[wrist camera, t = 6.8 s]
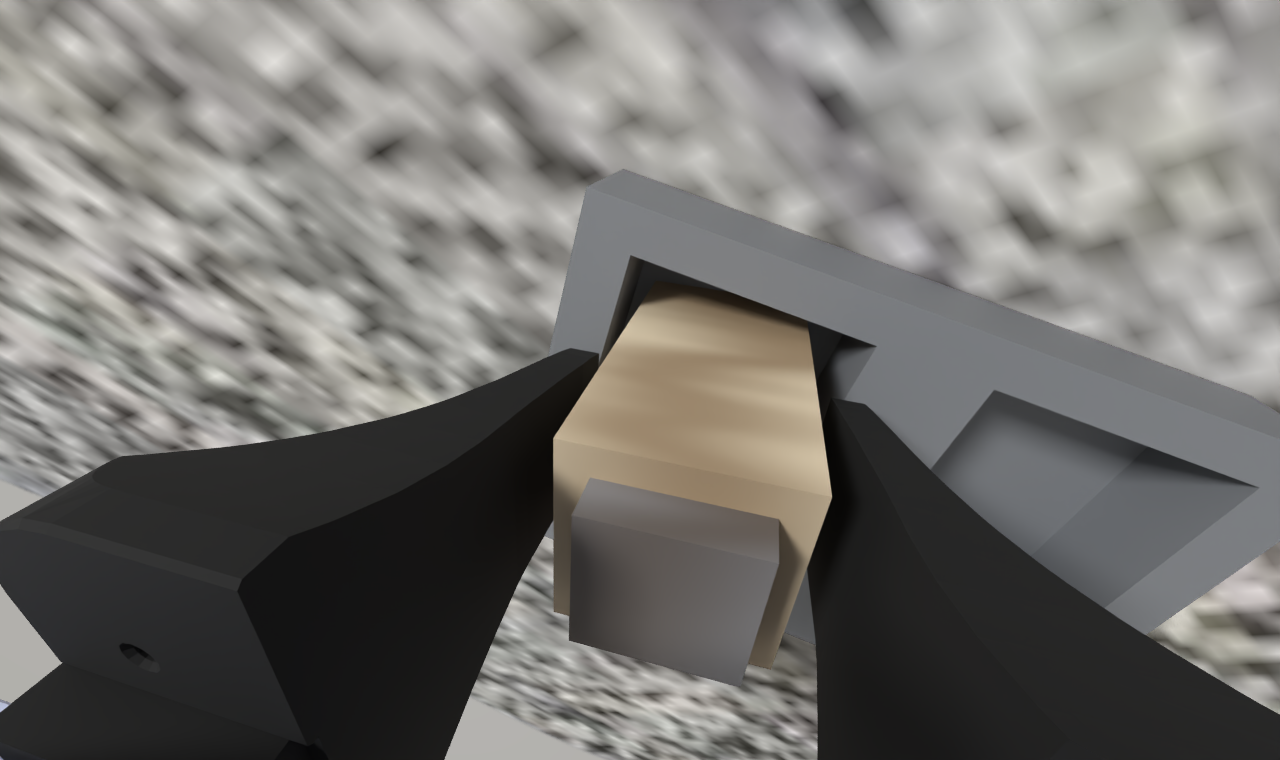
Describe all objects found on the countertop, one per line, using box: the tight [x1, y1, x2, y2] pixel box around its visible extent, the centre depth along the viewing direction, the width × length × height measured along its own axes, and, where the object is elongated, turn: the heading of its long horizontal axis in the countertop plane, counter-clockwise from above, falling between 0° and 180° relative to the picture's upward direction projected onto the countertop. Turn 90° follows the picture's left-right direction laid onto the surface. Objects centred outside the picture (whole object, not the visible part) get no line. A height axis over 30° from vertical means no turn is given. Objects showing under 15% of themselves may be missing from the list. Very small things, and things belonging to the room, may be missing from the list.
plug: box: [553, 281, 832, 687], centre depth 10 cm, size 3×3×7 cm
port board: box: [545, 169, 1280, 645], centre depth 12 cm, size 14×9×3 cm, turn 73°
